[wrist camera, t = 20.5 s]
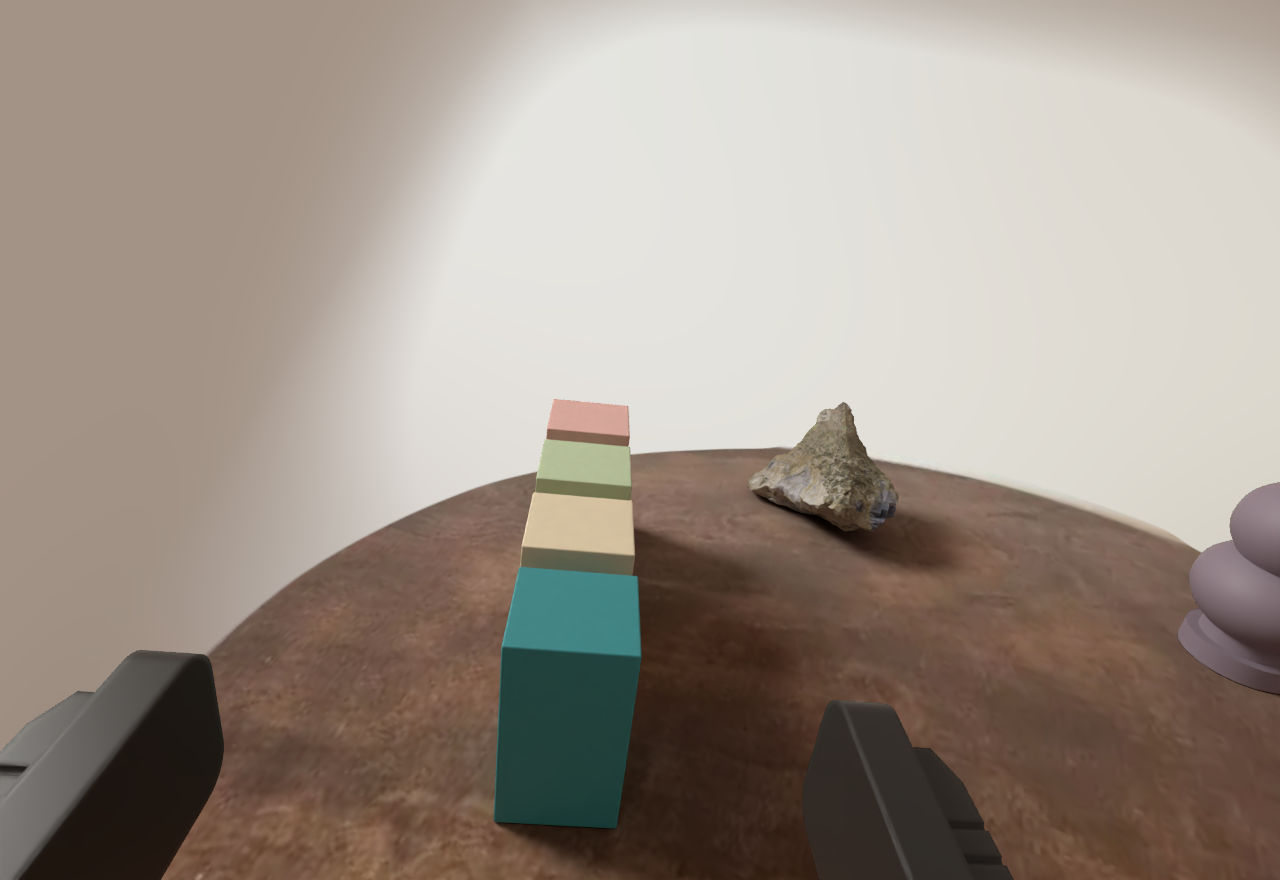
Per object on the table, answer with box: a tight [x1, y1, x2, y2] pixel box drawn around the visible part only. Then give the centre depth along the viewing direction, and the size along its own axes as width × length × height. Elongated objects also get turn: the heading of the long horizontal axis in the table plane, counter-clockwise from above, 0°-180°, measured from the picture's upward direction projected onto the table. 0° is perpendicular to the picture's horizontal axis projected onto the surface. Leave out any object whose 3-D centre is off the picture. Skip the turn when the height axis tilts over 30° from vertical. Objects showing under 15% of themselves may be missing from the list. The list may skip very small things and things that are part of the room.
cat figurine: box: [1178, 482, 1280, 693], centre depth 43 cm, size 8×8×12 cm
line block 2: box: [535, 439, 632, 501], centre depth 41 cm, size 5×5×9 cm
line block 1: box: [546, 399, 630, 447], centre depth 47 cm, size 5×5×9 cm
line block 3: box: [520, 492, 635, 576], centre depth 35 cm, size 5×5×9 cm
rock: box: [748, 402, 899, 532], centre depth 55 cm, size 11×6×10 cm
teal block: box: [494, 567, 642, 828], centre depth 30 cm, size 5×5×9 cm
